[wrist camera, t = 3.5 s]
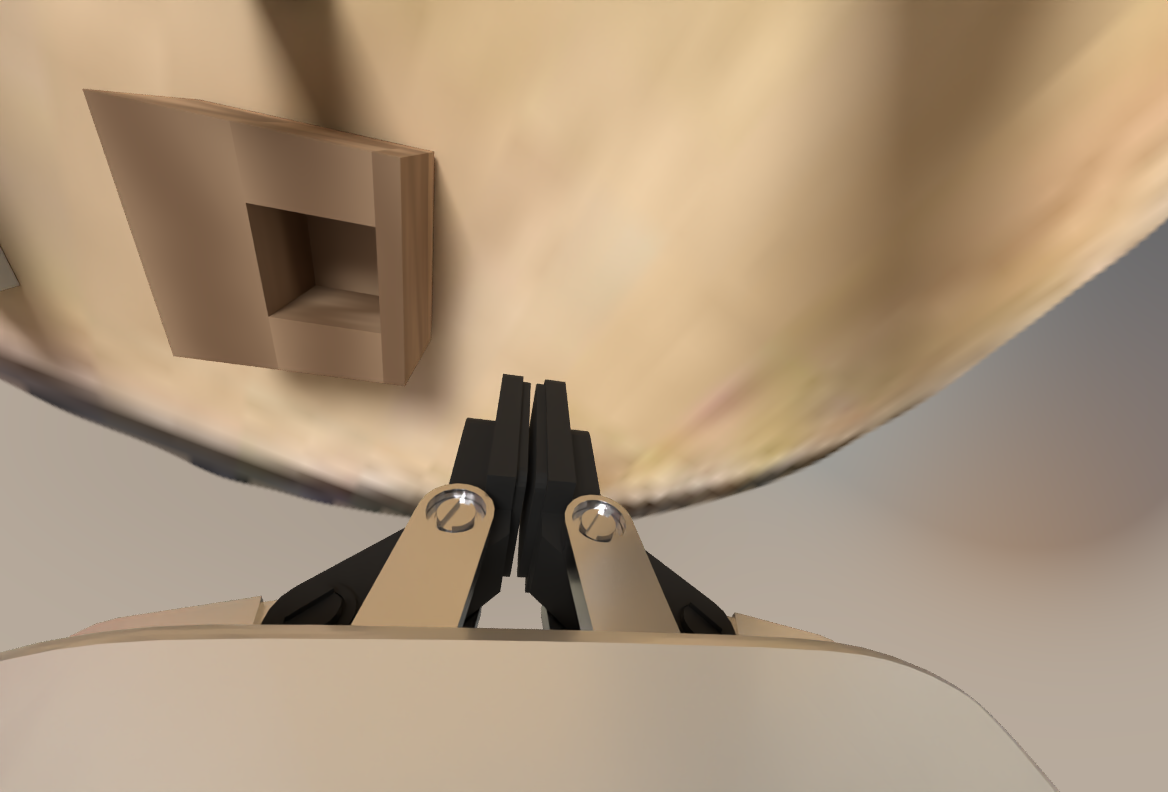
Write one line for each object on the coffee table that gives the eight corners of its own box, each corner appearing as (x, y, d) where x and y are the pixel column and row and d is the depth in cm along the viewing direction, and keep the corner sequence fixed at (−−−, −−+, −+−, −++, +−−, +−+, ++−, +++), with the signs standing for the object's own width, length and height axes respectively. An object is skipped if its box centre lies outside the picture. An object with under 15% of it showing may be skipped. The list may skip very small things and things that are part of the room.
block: (434, 151, 18) (400, 157, 14) (431, 339, 23) (404, 385, 19) (200, 99, 17) (82, 88, 12) (247, 311, 21) (173, 356, 17)
